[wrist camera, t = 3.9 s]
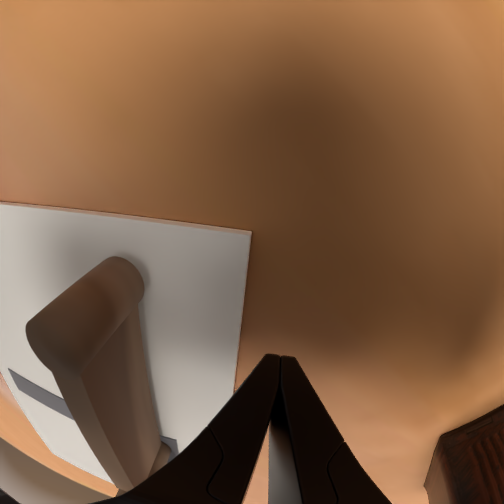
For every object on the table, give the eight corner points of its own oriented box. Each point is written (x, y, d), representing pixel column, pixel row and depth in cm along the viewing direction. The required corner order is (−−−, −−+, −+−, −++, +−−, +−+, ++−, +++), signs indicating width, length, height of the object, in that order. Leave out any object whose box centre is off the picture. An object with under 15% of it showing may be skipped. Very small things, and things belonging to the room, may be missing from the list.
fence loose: (135, 434, 13) (110, 488, 9) (96, 252, 9) (17, 310, 5) (166, 444, 13) (144, 501, 9) (143, 261, 9) (69, 332, 5)
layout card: (54, 451, 20) (52, 454, 20) (-47, 197, 10) (-53, 199, 10) (220, 512, 19) (219, 516, 18) (251, 231, 9) (249, 236, 8)
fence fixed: (167, 496, 19) (151, 540, 14) (142, 426, 14) (109, 498, 9) (186, 501, 18) (172, 546, 14) (172, 435, 14) (143, 511, 9)
